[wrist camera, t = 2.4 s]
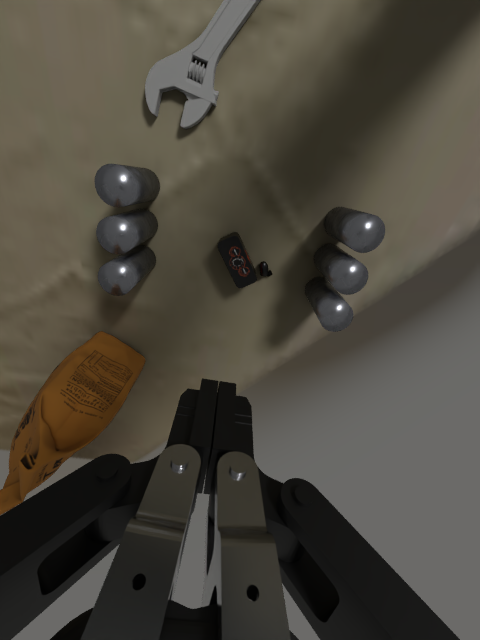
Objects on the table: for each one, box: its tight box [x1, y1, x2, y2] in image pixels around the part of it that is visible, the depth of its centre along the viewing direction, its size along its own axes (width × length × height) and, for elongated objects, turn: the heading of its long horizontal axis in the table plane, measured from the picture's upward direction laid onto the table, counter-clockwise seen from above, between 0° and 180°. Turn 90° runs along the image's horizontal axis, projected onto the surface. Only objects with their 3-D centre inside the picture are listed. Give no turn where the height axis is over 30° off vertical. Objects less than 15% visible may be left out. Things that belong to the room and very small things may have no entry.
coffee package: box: [0, 331, 145, 515], centre depth 36 cm, size 10×12×22 cm
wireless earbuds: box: [218, 232, 272, 288], centre depth 37 cm, size 5×7×3 cm, turn 25°
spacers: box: [95, 164, 385, 332], centre depth 33 cm, size 13×28×9 cm, turn 80°
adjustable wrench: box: [145, 0, 260, 129], centre depth 28 cm, size 25×6×2 cm, turn 133°
